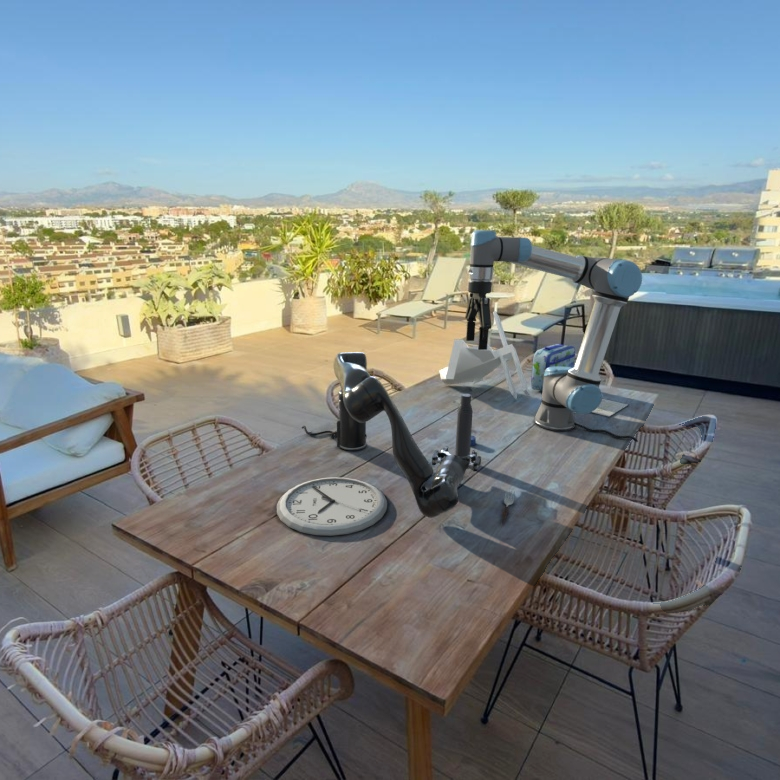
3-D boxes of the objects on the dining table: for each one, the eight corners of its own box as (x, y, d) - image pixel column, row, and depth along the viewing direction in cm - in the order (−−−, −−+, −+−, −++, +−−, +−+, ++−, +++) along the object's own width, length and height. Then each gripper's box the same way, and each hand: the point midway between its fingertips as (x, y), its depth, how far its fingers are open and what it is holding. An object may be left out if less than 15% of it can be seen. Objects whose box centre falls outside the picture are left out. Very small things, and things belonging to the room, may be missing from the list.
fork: (496, 524, 135) (497, 517, 134) (505, 496, 149) (506, 489, 148) (506, 526, 134) (507, 519, 133) (514, 497, 148) (515, 491, 148)
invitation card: (608, 416, 214) (573, 407, 224) (608, 416, 214) (573, 408, 224) (628, 404, 229) (594, 396, 238) (628, 405, 229) (594, 397, 238)
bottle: (466, 458, 173) (470, 392, 167) (471, 464, 169) (476, 397, 162) (452, 459, 172) (456, 393, 166) (457, 465, 168) (461, 397, 161)
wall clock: (392, 527, 129) (268, 531, 127) (391, 533, 130) (269, 537, 127) (383, 473, 158) (282, 475, 155) (383, 478, 158) (282, 480, 156)
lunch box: (547, 396, 238) (552, 351, 232) (526, 391, 246) (531, 347, 239) (574, 385, 256) (579, 343, 250) (554, 380, 263) (559, 340, 257)
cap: (461, 444, 185) (461, 437, 184) (466, 440, 188) (466, 434, 188) (472, 446, 183) (472, 440, 182) (477, 443, 186) (477, 436, 185)
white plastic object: (461, 429, 252) (437, 405, 227) (444, 352, 274) (420, 323, 250) (535, 404, 240) (518, 377, 215) (510, 326, 262) (492, 293, 237)
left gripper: (476, 464, 146) (484, 443, 161) (426, 457, 150) (438, 437, 165) (474, 488, 148) (482, 465, 163) (425, 480, 152) (437, 458, 167)
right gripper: (458, 276, 180) (455, 337, 186) (481, 284, 156) (476, 353, 162) (479, 276, 181) (475, 337, 187) (505, 284, 157) (499, 353, 164)
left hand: (460, 451), depth 164 cm, fingers open, 8 cm apart
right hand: (476, 344), depth 175 cm, fingers open, 13 cm apart
